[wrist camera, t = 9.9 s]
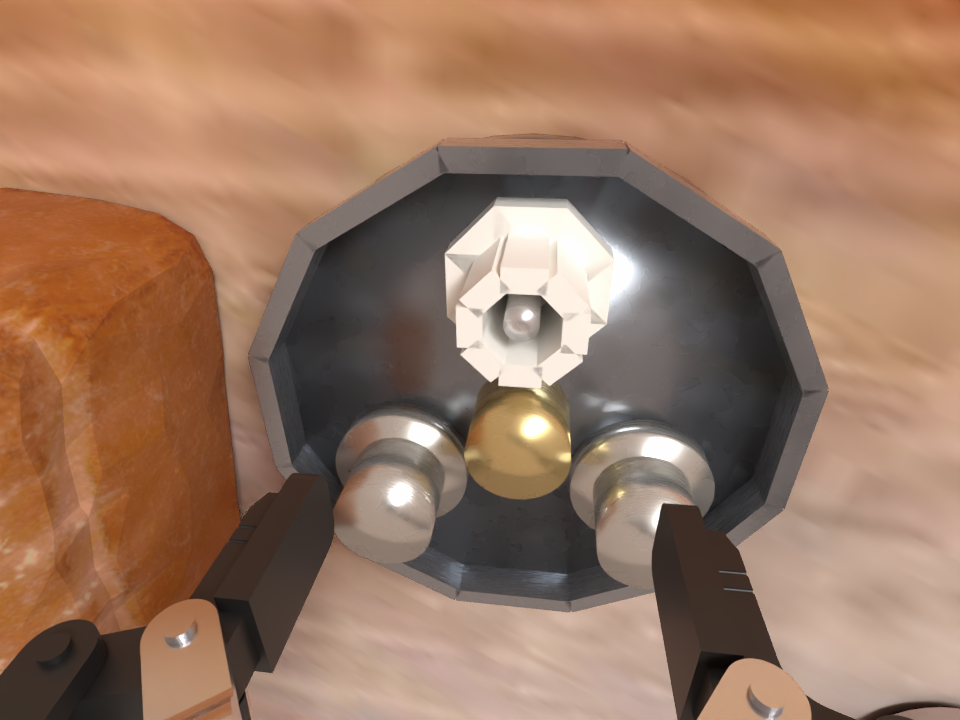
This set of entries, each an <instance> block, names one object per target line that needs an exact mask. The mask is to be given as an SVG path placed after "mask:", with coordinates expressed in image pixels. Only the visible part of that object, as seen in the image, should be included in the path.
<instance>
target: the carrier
mask: <svg viewBox="0 0 960 720" xmlns="http://www.w3.org/2000/svg"><path fill="white" fill-rule="evenodd" d="M497 197H511V198H549V199H568V201H569V202H570V203H571V204H572V205H573V206H574V207H575V208H576V209H577V211H578V212H579V213H580V214H581V215H582V216H583V217H584V218H585V219H586V221H587V222H588V223H589V224H590V225H591V226H592V227H593V228H594V229H595V231H596V232H597V233H598V234H599V235H600V236H601V237H602V238H603V239H604V241H605V242H606V243H607V244H608V245H609V246H610V247H611V248H612V251H613V255H614V259H615V262H614V270H613V278H612V286H611V294H610V302H609V310H608V318H607V325H605V326H604V327H603V328H601V329H600V330H599V331H597V332H596V333H595V334H593V335H592V336H591V337H589V342H588V351H587V355H583V354H582V357H583V362H582V363H580V364H579V365H578V366H576V367H575V368H574V369H572V370H571V371H569V372H568V373H567V374H565V375H564V376H563V377H561V378H560V379H558V380H557V381H556V382H554V383H553V384H552V385H550V386H549V385H548V384H547V383H545V382H544V381H543V380H542V382H541V388H526V387H510V386H498V384H499V376H498V377H497V378H496V379H494V380H493V381H492V382H490V381H488V380H487V379H486V378H485V377H484V376H483V375H482V374H481V373H480V372H479V371H478V370H476V369H475V368H474V367H473V366H472V365H471V364H470V363H469V362H468V361H467V360H466V359H464V358H463V357H462V356H461V355H460V354H461V351H462V348H459V347H457V338H456V324H455V323H454V322H453V321H452V320H450V319H449V318H448V317H447V300H446V273H445V252H446V250H447V249H448V247H449V245H450V243H451V242H452V241H453V240H454V239H455V238H456V237H457V236H458V235H459V234H460V233H461V232H462V231H463V230H464V229H465V228H466V227H467V226H468V225H469V224H470V223H471V222H472V221H473V220H474V219H475V218H477V217H478V216H479V215H480V214H481V213H482V212H483V211H484V210H485V209H486V208H487V207H488V206H489V205H490V204H491V203H492V202H493V201H494V200H495V199H496V198H497ZM504 296H505V297H506V298H507V299H508V301H507V306H506V311H505V316H504V321H503V329H504V332H505V334H506V335H507V336H508V337H509V338H510V339H512V340H514V341H517V342H526V341H529V340H531V339H533V338H534V337H535V336H536V335H537V333H538V331H539V327H540V311H541V306H543V305H544V304H545V303H546V302H547V301H546V300H545V299H544V298H543V297H542V296H541V295H524V294H505V295H504ZM248 355H249V356H248V359H249V363H250V367H251V371H252V375H253V379H254V383H255V387H256V391H257V395H258V399H259V403H260V407H261V411H262V415H263V419H264V423H265V427H266V431H267V435H268V439H269V443H270V447H271V451H272V455H273V459H274V463H275V467H277V470H278V471H279V472H280V473H281V474H282V475H283V476H284V477H285V479H286V480H287V479H288V477H289V476H290V475H291V474H292V473H303V474H316V475H324V476H325V477H326V480H327V484H328V490H329V495H330V500H331V505H332V511H333V516H334V524H335V525H334V532H335V534H336V535H337V537H338V538H339V540H340V541H341V542H342V543H343V544H344V545H345V546H346V547H347V548H348V549H350V550H351V551H353V552H354V553H356V554H358V555H360V556H362V557H364V558H366V559H369V560H371V561H373V562H376V563H378V564H380V565H382V566H384V567H386V568H388V569H390V570H392V571H395V572H397V573H399V574H401V575H403V576H405V577H407V578H409V579H411V580H414V581H416V582H418V583H420V584H422V585H424V586H426V587H428V588H430V589H432V590H435V591H437V592H439V593H441V594H443V595H445V596H447V597H449V598H451V599H454V600H455V599H456V600H457V601H467V602H476V603H486V604H495V605H505V606H514V607H524V608H533V609H543V610H552V611H562V612H570V611H572V612H576V611H580V610H584V609H588V608H592V607H596V606H600V605H604V604H608V603H612V602H616V601H620V600H624V599H628V598H633V597H637V596H641V595H645V594H649V593H653V592H655V589H654V583H653V577H652V549H653V544H654V539H655V534H656V529H657V524H658V519H659V514H660V510H661V506H662V504H663V503H670V504H683V505H696V506H698V507H699V509H700V512H701V515H702V518H703V522H704V525H705V528H706V530H711V531H723V533H724V534H725V535H726V536H727V537H728V539H729V540H730V541H731V542H732V543H733V544H734V546H735V547H736V546H737V545H739V544H740V543H741V542H743V541H744V540H745V539H747V538H748V537H749V536H750V535H752V534H753V533H754V532H756V531H757V530H758V529H760V528H761V527H762V526H763V525H765V524H766V523H767V522H769V521H770V520H771V519H773V518H774V517H775V516H776V515H778V514H779V513H780V512H782V511H783V509H785V506H786V503H787V501H788V498H789V495H790V493H791V490H792V487H793V485H794V482H795V479H796V477H797V474H798V471H799V469H800V466H801V463H802V461H803V458H804V455H805V453H806V450H807V447H808V445H809V442H810V439H811V437H812V434H813V431H814V429H815V426H816V423H817V421H818V418H819V415H820V413H821V410H822V407H823V405H824V402H825V400H826V397H827V394H828V392H829V391H828V390H827V389H829V388H828V385H827V383H826V380H825V377H824V374H823V371H822V368H821V365H820V362H819V359H818V356H817V353H816V350H815V347H814V344H813V341H812V339H811V336H810V333H809V330H808V327H807V324H806V321H805V318H804V315H803V312H802V309H801V306H800V303H799V300H798V298H797V295H796V292H795V289H794V286H793V283H792V280H791V277H790V274H789V271H788V268H787V265H786V262H785V259H784V256H783V254H782V251H781V250H780V249H779V248H778V247H777V246H776V245H775V244H774V243H773V242H772V241H771V240H770V239H769V238H768V237H767V236H766V235H765V234H764V233H762V232H761V231H759V230H758V229H756V228H755V227H753V226H752V225H750V224H749V223H747V222H746V221H744V220H743V219H741V218H740V217H738V216H737V215H735V214H734V213H732V212H731V211H729V210H728V209H726V208H725V207H723V206H722V205H720V204H719V203H717V202H716V201H714V200H713V199H712V198H711V197H709V196H708V195H707V194H705V193H704V192H703V191H702V190H700V189H699V188H698V187H697V186H695V185H694V184H693V183H691V182H690V181H689V180H687V179H685V178H684V177H682V176H680V175H678V174H676V173H675V172H673V171H671V170H669V169H668V168H666V167H664V166H662V165H660V164H659V163H657V162H655V161H654V160H652V159H651V158H649V157H648V156H646V155H645V154H643V153H642V152H640V151H639V150H637V149H636V148H634V147H633V146H631V145H630V144H628V143H627V142H624V143H623V141H622V140H586V139H582V138H578V137H569V136H557V135H545V134H519V135H501V136H491V137H486V138H446V139H443V140H441V141H440V142H438V143H436V144H435V145H433V146H432V147H430V148H428V149H427V150H425V151H424V152H422V153H420V154H419V155H417V156H416V157H414V158H412V159H411V160H409V161H408V162H406V163H404V164H403V165H401V166H399V167H397V168H395V169H393V170H392V171H390V172H388V173H386V174H384V175H383V176H382V177H380V178H379V179H378V180H376V181H375V182H373V183H372V184H371V185H369V186H367V187H366V188H364V189H363V190H361V191H359V192H358V193H356V194H355V195H353V196H351V197H350V198H348V199H346V200H345V201H343V202H342V203H340V204H338V205H337V206H335V207H334V208H332V209H330V210H329V211H327V212H326V213H324V214H322V215H321V216H319V217H318V218H316V219H314V220H313V221H312V222H310V223H309V224H308V225H306V226H305V227H304V228H302V229H301V230H300V231H298V232H297V234H296V235H295V237H294V240H293V242H292V245H291V247H290V250H289V252H288V255H287V257H286V260H285V262H284V265H283V267H282V270H281V272H280V275H279V277H278V280H277V283H276V285H275V288H274V290H273V293H272V295H271V298H270V300H269V303H268V305H267V308H266V310H265V313H264V315H263V318H262V320H261V323H260V325H259V328H258V330H257V333H256V336H255V338H254V341H253V343H252V346H251V348H250V351H249V353H248ZM782 508H783V509H782Z"/></svg>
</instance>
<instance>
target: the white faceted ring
mask: <svg viewBox="0 0 960 720" xmlns="http://www.w3.org/2000/svg"><path fill="white" fill-rule="evenodd" d="M614 262H615V259H614V255H613V251H612V248H611V247H610V246H609V245H608V244H607V243H606V242H605V241H604V239H603V238H602V237H601V236H600V235H599V234H598V233H597V232H596V231H595V229H594V228H593V227H592V226H591V225H590V224H589V223H588V222H587V221H586V219H585V218H584V217H583V216H582V215H581V214H580V213H579V212H578V211H577V209H576V208H575V207H574V206H573V205H572V204H571V203H570V202H569V201H568V199H549V198H511V197H497V198H496V199H495V200H494V201H493V202H492V203H491V204H490V205H489V206H488V207H487V208H486V209H485V210H484V211H483V212H482V213H481V214H480V215H479V216H478V217H477V218H475V219H474V220H473V221H472V222H471V223H470V224H469V225H468V226H467V227H466V228H465V229H464V230H463V231H462V232H461V233H460V234H459V235H458V236H457V237H456V238H455V239H454V240H453V241H452V242H451V243H450V245H449V247H448V249H447V250H446V252H445V273H446V300H447V317H448V318H449V319H450V320H452V321H453V322H454V323H455V324H456V338H457V347H459V348H462V351H461V354H460V355H461V356H462V357H463V358H464V359H466V360H467V361H468V362H469V363H470V364H471V365H472V366H473V367H474V368H475V369H476V370H478V371H479V372H480V373H481V374H482V375H483V376H484V377H485V378H486V379H487V380H488V381H490V382H492V381H493V380H494V379H496V378H497V377H498V376H499V384H498V386H510V387H526V388H541V382H542V380H543V381H544V382H545V383H547V384H548V385H549V386H550V385H552V384H553V383H554V382H556V381H557V380H558V379H560V378H561V377H563V376H564V375H565V374H567V373H568V372H569V371H571V370H572V369H574V368H575V367H576V366H578V365H579V364H580V363H582V362H583V357H582V354H583V355H587V351H588V342H589V337H591V336H592V335H593V334H595V333H596V332H597V331H599V330H600V329H601V328H603V327H604V326H605V325H607V318H608V310H609V302H610V294H611V286H612V278H613V270H614ZM505 294H524V295H541V296H542V297H543V298H544V299H545V300H546V301H547V302H546V303H545V304H544V305H543V306H541V311H540V327H539V331H538V333H537V335H536V336H535V337H534V338H533V339H531V340H529V341H526V342H517V341H514V340H512V339H510V338H509V337H508V336H507V335H506V334H505V332H504V329H503V321H504V316H505V311H506V306H507V301H508V299H507V298H506V297H505V296H504V295H505Z"/></svg>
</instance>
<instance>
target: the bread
mask: <svg viewBox="0 0 960 720" xmlns="http://www.w3.org/2000/svg"><path fill="white" fill-rule="evenodd" d="M240 522H241V519H240V513H239V507H238V502H237V492H236V481H235V470H234V460H233V451H232V442H231V434H230V425H229V416H228V407H227V398H226V389H225V381H224V363H223V347H222V340H221V332H220V325H219V317H218V310H217V303H216V295H215V288H214V280H213V273H212V269H211V267H210V265H209V263H208V262H207V260H206V258H205V256H204V254H203V252H202V250H201V248H200V246H199V244H198V242H197V240H196V238H195V236H194V235H193V234H191V233H189V232H188V231H186V230H185V229H183V228H181V227H180V226H178V225H176V224H175V223H173V222H172V221H170V220H168V219H167V218H165V217H163V216H162V215H160V214H158V213H154V212H149V211H145V210H141V209H137V208H133V207H129V206H124V205H120V204H116V203H112V202H108V201H103V200H97V199H90V198H82V197H75V196H68V195H61V194H53V193H45V192H37V191H29V190H21V189H13V188H0V675H1V674H2V672H3V671H4V670H5V669H6V668H7V666H8V665H9V664H10V663H11V661H12V660H13V659H14V658H15V657H16V655H17V654H18V653H19V652H20V651H21V649H22V648H23V647H24V646H25V645H26V644H27V643H28V642H29V641H31V640H32V639H33V638H34V637H36V636H37V635H38V634H40V633H41V632H43V631H44V630H46V629H48V628H50V627H52V626H54V625H56V624H59V623H61V622H65V621H69V620H75V619H82V620H87V621H90V622H92V623H93V624H94V625H95V626H96V627H97V629H98V631H99V633H100V634H101V635H103V634H109V633H114V632H119V631H124V630H129V629H134V628H140V627H144V626H148V624H149V623H150V622H151V621H152V620H153V619H154V618H155V617H156V616H157V615H158V614H159V613H160V612H162V611H163V610H165V609H166V608H168V607H170V606H171V605H174V604H176V603H178V602H181V601H184V600H188V599H189V598H190V596H191V595H192V594H193V592H194V591H195V589H196V588H197V586H198V585H199V583H200V582H201V580H202V579H203V577H204V576H205V574H206V573H207V571H208V570H209V568H210V567H211V565H212V564H213V562H214V561H215V559H216V558H217V556H218V555H219V553H220V552H221V550H222V549H223V547H224V546H225V544H226V543H228V542H229V538H230V537H231V535H232V534H233V532H234V531H235V529H236V528H238V527H239V524H240Z"/></svg>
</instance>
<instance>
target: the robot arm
mask: <svg viewBox="0 0 960 720" xmlns="http://www.w3.org/2000/svg"><path fill="white" fill-rule="evenodd" d="M334 525H335V524H334V516H333V511H332V505H331V500H330V495H329V490H328V484H327V480H326V477H325V476H324V475H316V474H303V473H292V474H291V475H290V476H289V477H288V479H287V480H286V482H285V484H284V485H283V487H282V488H281V490H280V492H279V493H268V494H266V495H265V496H264V497H263V498H261V499H260V500H259V501H258V502H256V503H255V504H254V505H253V506H251V507H250V509H249V510H248V512H247V513H246V515H245V516H244V518H243V519H242V521H241V522H240V524H239V527H238V528H236V529H235V531H234V532H233V534H232V535H231V537H230V538H229V542H228V543H226V544H225V546H224V547H223V549H222V550H221V552H220V553H219V555H218V556H217V558H216V559H215V561H214V562H213V564H212V565H211V567H210V568H209V570H208V571H207V573H206V574H205V576H204V577H203V579H202V580H201V582H200V583H199V585H198V586H197V588H196V589H195V591H194V592H193V594H192V595H191V596H190V598H189V599H188V600H184V601H181V602H178V603H176V604H174V605H171V606H170V607H168V608H166V609H165V610H163V611H162V612H160V613H159V614H158V615H157V616H156V617H155V618H154V619H153V620H152V621H151V622H150V623H149V624H148V626H144V627H140V628H134V629H129V630H124V631H119V632H114V633H109V634H103V635H101V634H100V633H99V631H98V629H97V627H96V626H95V625H94V624H93V623H92V622H90V621H87V620H82V619H75V620H69V621H65V622H61V623H59V624H56V625H54V626H52V627H50V628H48V629H46V630H44V631H43V632H41V633H40V634H38V635H37V636H36V637H34V638H33V639H32V640H31V641H29V642H28V643H27V644H26V645H25V646H24V647H23V648H22V649H21V651H20V652H19V653H18V654H17V655H16V657H15V658H14V659H13V660H12V661H11V663H10V664H9V665H8V666H7V668H6V669H5V670H4V671H3V672H2V674H1V675H0V720H254V719H253V715H252V710H251V705H250V700H249V696H248V692H247V689H246V687H247V685H248V683H249V681H250V679H251V677H252V675H253V673H254V671H260V672H268V673H273V671H274V668H275V666H276V664H277V662H278V660H279V658H280V655H281V653H282V651H283V649H284V647H285V644H286V642H287V640H288V638H289V636H290V633H291V631H292V629H293V627H294V625H295V623H296V620H297V618H298V616H299V614H300V612H301V609H302V607H303V605H304V603H305V601H306V599H307V596H308V594H309V592H310V590H311V588H312V585H313V583H314V581H315V579H316V577H317V574H318V572H319V570H320V568H321V566H322V564H323V561H324V559H325V557H326V555H327V553H328V550H329V548H330V546H331V543H332V540H333V535H334ZM652 577H653V583H654V589H655V594H656V600H657V606H658V611H659V617H660V623H661V628H662V634H663V640H664V645H665V651H666V657H667V662H668V668H669V674H670V679H671V685H672V691H673V696H674V702H675V707H676V713H677V719H678V720H856V719H853V718H851V717H848V716H846V715H843V714H841V713H839V712H836V711H834V710H831V709H829V708H827V707H825V706H823V705H820V704H819V703H817V702H815V701H814V700H812V699H811V698H809V697H808V696H807V695H805V693H804V691H803V690H802V689H801V687H800V686H799V685H798V683H797V682H796V681H795V680H794V679H793V678H792V677H791V676H790V675H789V674H788V673H786V672H785V671H783V669H782V667H781V666H780V663H779V661H778V659H777V656H776V653H775V650H774V647H773V645H772V642H771V639H770V636H769V634H768V631H767V628H766V625H765V622H764V620H763V617H762V614H761V611H760V608H759V606H758V603H757V600H756V597H755V594H753V589H752V586H751V583H750V580H749V578H748V576H747V575H746V569H745V566H744V564H743V561H742V558H741V555H740V553H739V550H738V549H737V548H736V547H735V546H734V544H733V543H732V542H731V541H730V540H729V539H728V537H727V536H726V535H725V534H724V533H723V531H711V530H706V528H705V525H704V522H703V518H702V515H701V512H700V509H699V507H698V506H696V505H683V504H670V503H663V504H662V506H661V510H660V514H659V519H658V524H657V529H656V534H655V539H654V544H653V549H652ZM876 720H960V709H959V708H947V707H932V708H920V709H914V710H908V711H904V712H900V713H896V714H893V715H884V716H881V717H879V718H877V719H876Z"/></svg>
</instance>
